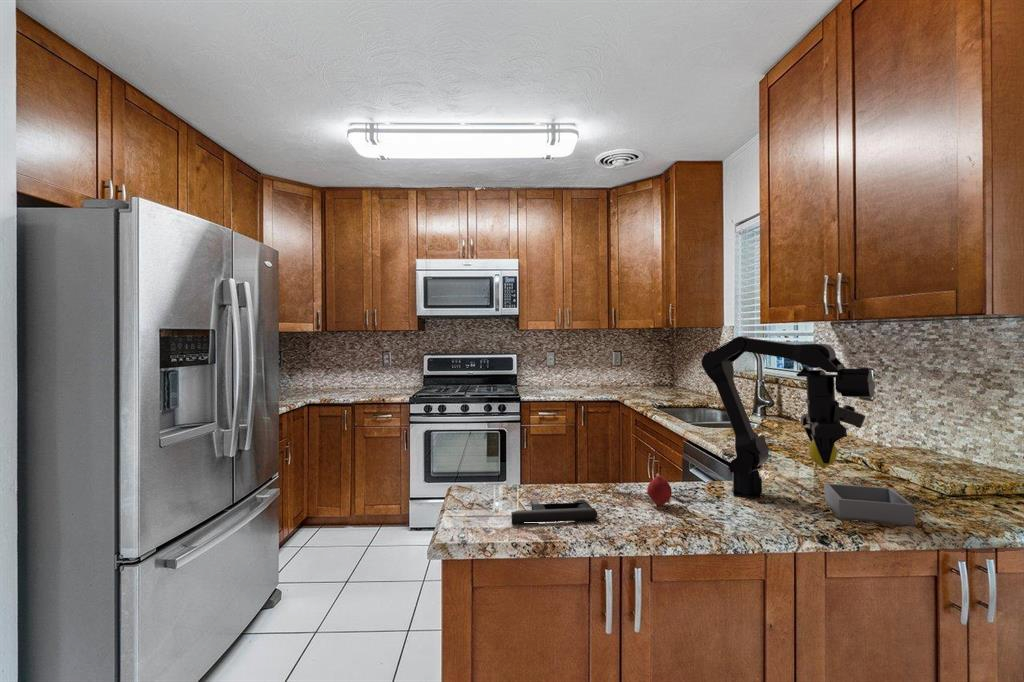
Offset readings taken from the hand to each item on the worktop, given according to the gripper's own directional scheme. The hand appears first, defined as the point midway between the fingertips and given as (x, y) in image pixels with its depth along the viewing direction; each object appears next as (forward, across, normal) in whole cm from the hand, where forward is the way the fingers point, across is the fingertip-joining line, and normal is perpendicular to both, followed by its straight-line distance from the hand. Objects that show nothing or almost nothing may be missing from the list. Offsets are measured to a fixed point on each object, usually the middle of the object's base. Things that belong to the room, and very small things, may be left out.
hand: (823, 460), depth 118 cm
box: (+12, +1, -8) cm, 15 cm away
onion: (+12, -10, +37) cm, 40 cm away
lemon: (+2, 0, 0) cm, 2 cm away
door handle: (+12, -23, +62) cm, 67 cm away
